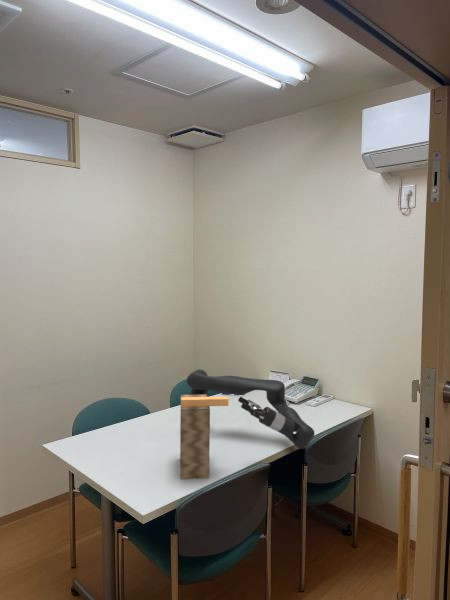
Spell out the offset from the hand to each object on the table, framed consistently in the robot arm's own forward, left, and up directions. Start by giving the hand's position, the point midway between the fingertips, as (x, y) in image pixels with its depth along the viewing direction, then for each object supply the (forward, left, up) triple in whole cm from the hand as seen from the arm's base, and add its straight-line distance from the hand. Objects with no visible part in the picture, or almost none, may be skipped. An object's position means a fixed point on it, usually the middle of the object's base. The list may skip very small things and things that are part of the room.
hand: (240, 401), depth 192 cm
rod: (-13, -9, -1) cm, 16 cm away
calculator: (-56, +102, -32) cm, 121 cm away
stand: (-19, -7, -31) cm, 37 cm away
